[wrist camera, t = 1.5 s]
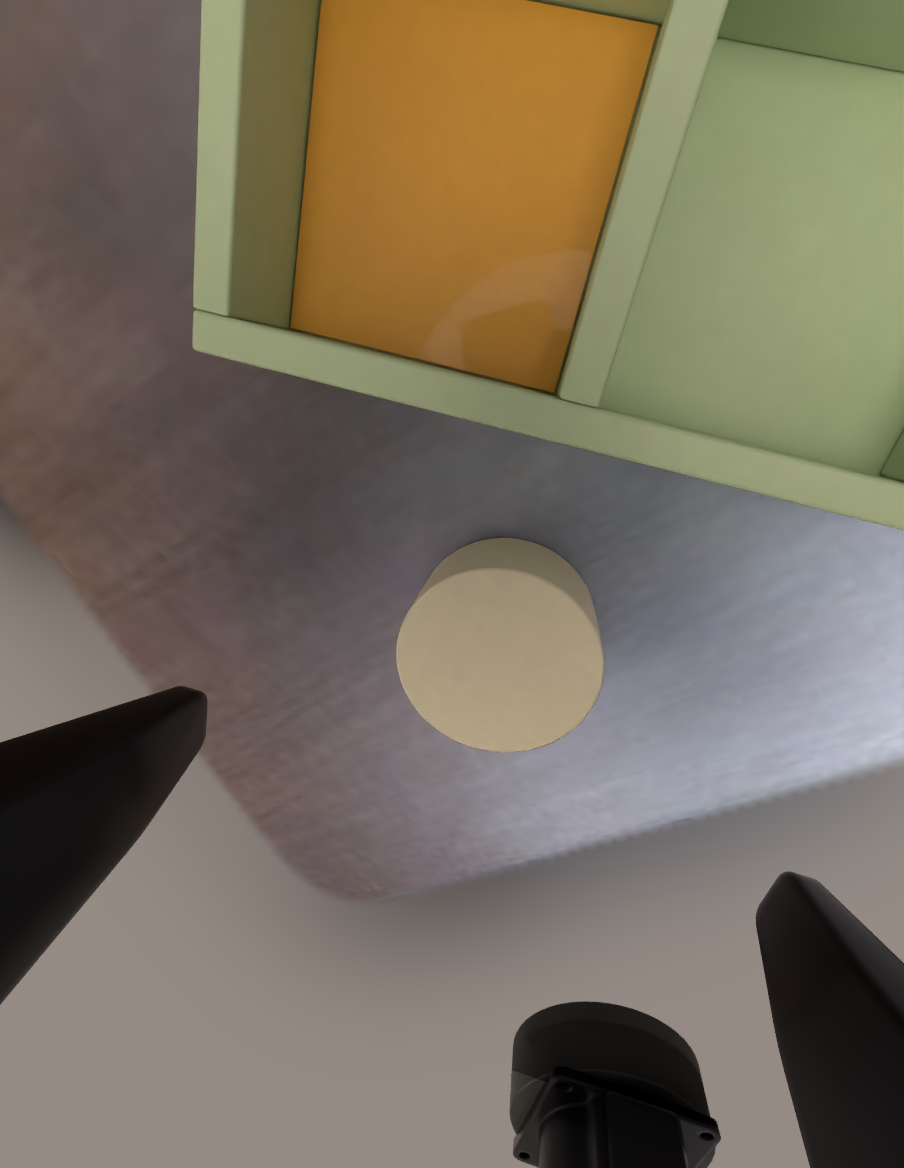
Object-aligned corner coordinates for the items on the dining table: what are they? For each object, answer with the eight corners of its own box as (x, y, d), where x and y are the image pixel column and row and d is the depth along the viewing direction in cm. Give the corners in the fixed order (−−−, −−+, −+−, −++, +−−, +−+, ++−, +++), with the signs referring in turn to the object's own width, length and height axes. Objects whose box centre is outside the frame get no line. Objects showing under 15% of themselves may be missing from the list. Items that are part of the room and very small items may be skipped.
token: (563, 716, 14) (567, 776, 12) (404, 670, 15) (379, 720, 12) (621, 565, 13) (636, 602, 10) (439, 516, 13) (417, 542, 11)
